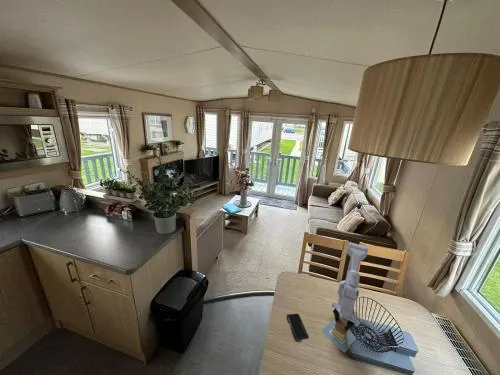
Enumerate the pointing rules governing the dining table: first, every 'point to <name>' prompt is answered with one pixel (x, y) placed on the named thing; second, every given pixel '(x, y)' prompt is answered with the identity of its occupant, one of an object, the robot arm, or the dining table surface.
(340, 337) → the maple base block
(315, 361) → the dining table surface
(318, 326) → the dining table surface
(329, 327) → the board
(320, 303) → the dining table surface
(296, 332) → the phone
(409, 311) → the dining table surface
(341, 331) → the walnut block
